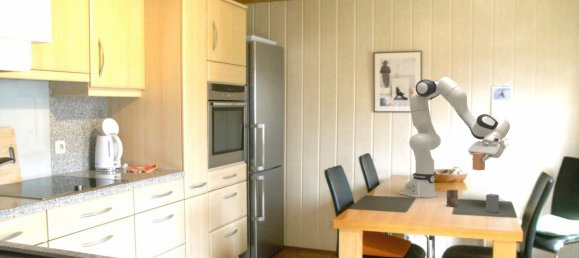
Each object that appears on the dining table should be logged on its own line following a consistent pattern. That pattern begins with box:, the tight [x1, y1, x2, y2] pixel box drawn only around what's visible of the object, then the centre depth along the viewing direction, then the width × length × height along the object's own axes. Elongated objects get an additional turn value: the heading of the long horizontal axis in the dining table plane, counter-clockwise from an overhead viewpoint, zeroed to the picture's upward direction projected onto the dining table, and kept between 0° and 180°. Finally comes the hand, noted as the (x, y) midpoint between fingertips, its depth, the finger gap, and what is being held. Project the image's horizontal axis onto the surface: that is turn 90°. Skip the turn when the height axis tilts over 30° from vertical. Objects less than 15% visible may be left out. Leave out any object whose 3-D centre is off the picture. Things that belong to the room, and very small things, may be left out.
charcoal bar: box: [485, 193, 500, 214], centre depth 268 cm, size 4×4×9 cm
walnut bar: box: [446, 188, 459, 208], centre depth 283 cm, size 4×4×9 cm
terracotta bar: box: [472, 153, 486, 171], centre depth 281 cm, size 4×4×9 cm
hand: (477, 160), depth 281 cm, fingers closed on terracotta bar, 4 cm apart
